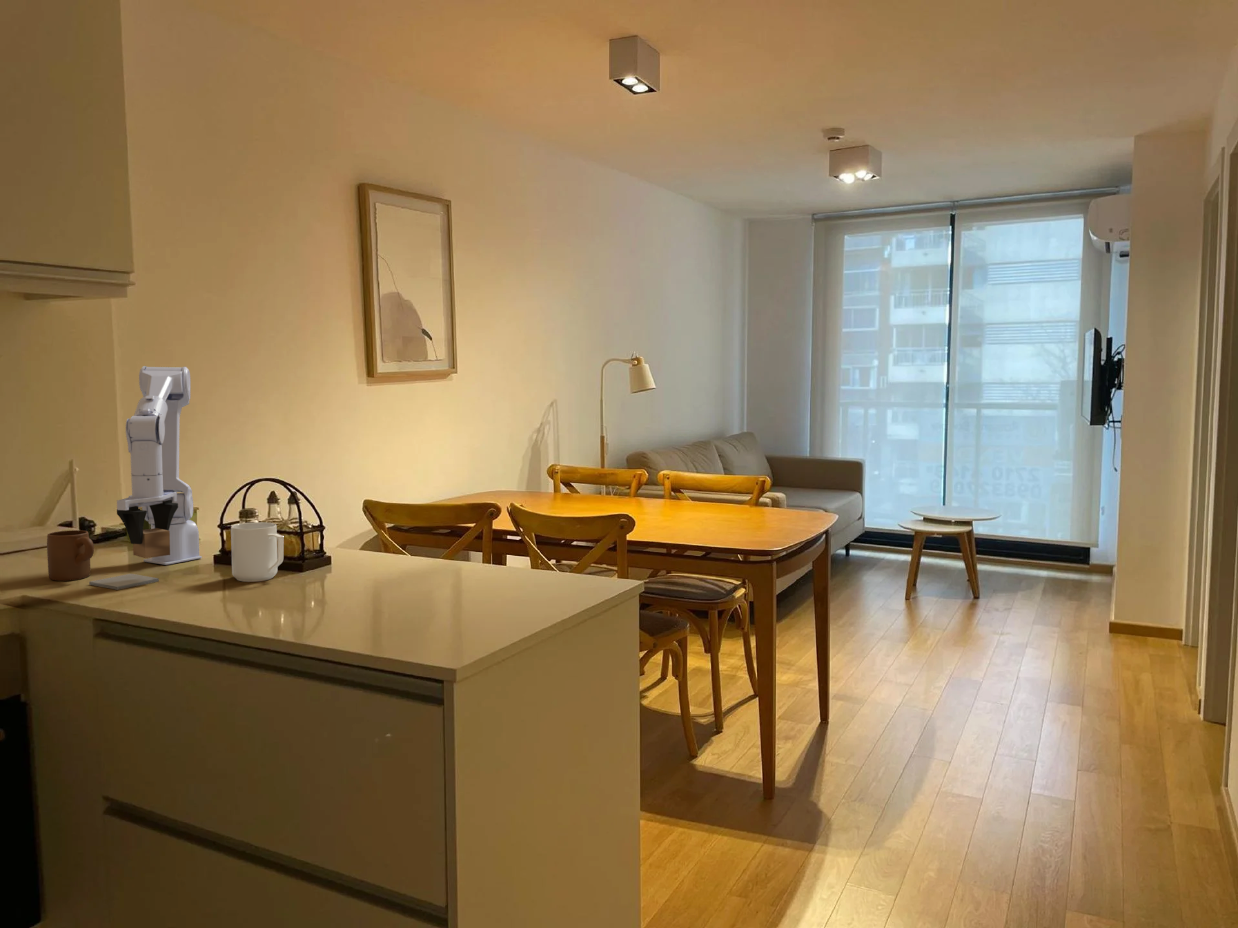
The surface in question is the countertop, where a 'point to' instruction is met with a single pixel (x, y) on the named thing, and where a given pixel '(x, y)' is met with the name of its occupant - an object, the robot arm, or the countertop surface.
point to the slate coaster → (123, 581)
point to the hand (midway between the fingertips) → (149, 540)
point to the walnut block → (153, 543)
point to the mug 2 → (256, 551)
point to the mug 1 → (69, 555)
